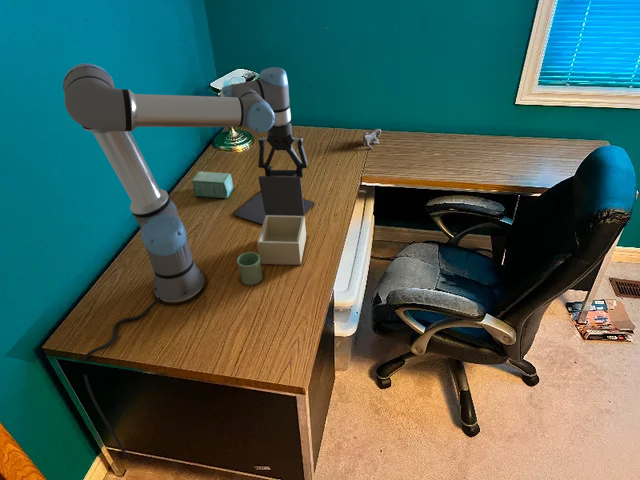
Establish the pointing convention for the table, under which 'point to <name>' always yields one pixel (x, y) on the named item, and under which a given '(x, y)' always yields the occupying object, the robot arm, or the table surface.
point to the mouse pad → (260, 209)
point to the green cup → (250, 268)
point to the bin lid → (282, 193)
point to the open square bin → (282, 240)
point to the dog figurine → (371, 137)
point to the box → (212, 184)
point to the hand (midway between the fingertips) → (285, 185)
